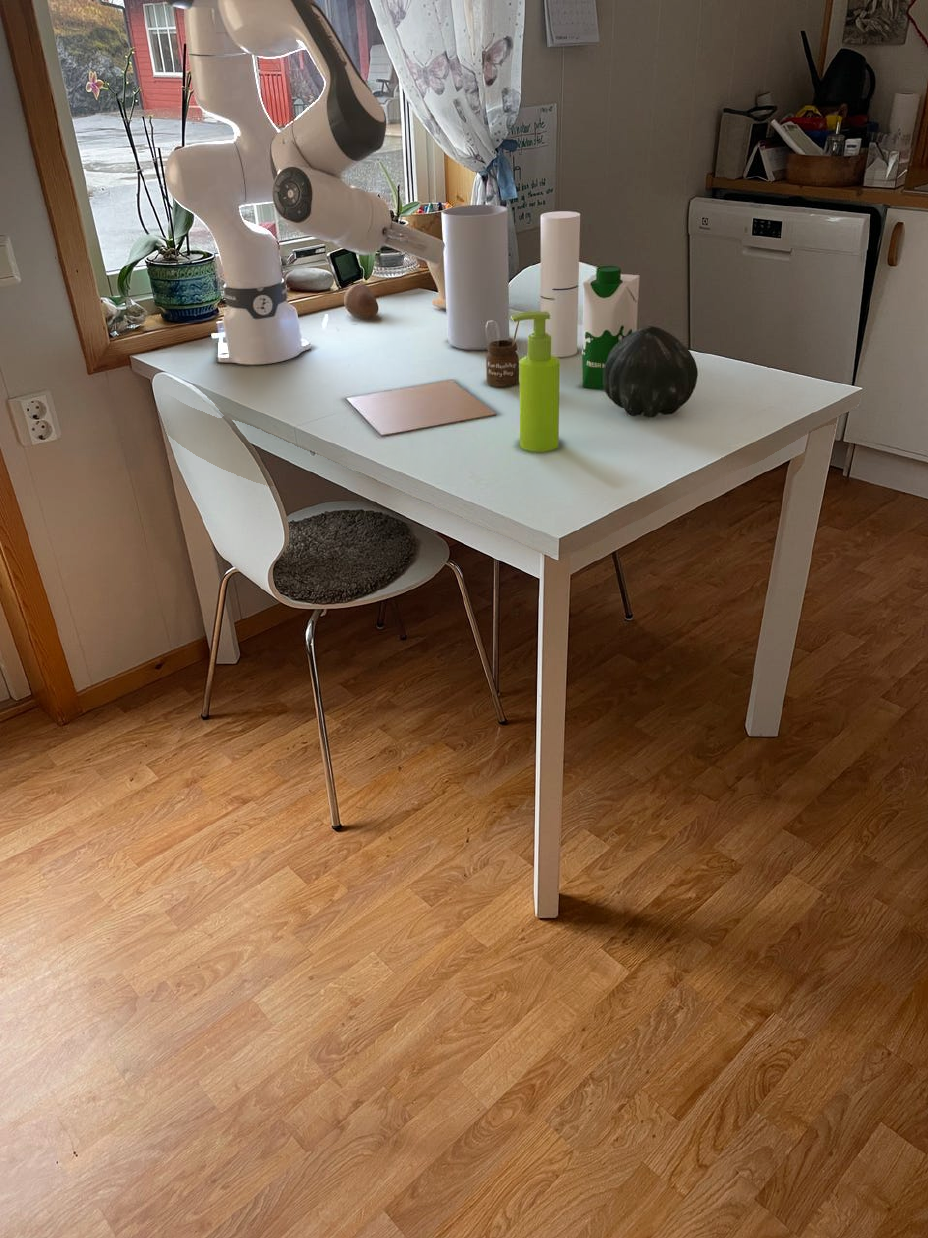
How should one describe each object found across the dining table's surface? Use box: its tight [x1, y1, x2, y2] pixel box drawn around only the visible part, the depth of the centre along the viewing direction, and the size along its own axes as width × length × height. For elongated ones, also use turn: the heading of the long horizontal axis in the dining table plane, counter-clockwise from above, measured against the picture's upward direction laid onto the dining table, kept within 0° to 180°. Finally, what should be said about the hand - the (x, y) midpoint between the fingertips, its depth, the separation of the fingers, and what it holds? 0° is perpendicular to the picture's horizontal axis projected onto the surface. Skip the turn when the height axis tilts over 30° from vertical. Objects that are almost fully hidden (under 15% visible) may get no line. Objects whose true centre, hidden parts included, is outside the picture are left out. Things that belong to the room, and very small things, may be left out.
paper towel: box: [345, 379, 497, 437], centre depth 164 cm, size 20×20×1 cm
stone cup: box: [425, 252, 446, 310], centre depth 213 cm, size 15×12×15 cm
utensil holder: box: [485, 320, 520, 388], centre depth 170 cm, size 6×6×12 cm
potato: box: [343, 283, 379, 320], centre depth 214 cm, size 7×10×7 cm
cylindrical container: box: [540, 210, 581, 358], centre depth 181 cm, size 7×7×25 cm
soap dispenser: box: [510, 310, 561, 453], centre depth 142 cm, size 6×7×20 cm
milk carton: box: [581, 265, 641, 390], centre depth 165 cm, size 9×9×20 cm
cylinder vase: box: [441, 204, 510, 351], centre depth 188 cm, size 12×12×25 cm
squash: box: [603, 325, 699, 419], centre depth 155 cm, size 14×15×15 cm
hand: (414, 244), depth 158 cm, fingers open, 8 cm apart
